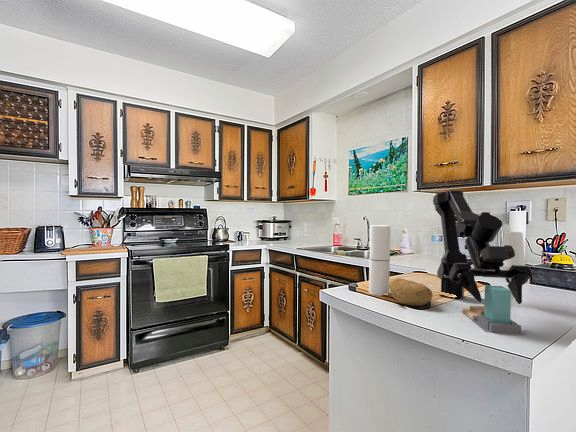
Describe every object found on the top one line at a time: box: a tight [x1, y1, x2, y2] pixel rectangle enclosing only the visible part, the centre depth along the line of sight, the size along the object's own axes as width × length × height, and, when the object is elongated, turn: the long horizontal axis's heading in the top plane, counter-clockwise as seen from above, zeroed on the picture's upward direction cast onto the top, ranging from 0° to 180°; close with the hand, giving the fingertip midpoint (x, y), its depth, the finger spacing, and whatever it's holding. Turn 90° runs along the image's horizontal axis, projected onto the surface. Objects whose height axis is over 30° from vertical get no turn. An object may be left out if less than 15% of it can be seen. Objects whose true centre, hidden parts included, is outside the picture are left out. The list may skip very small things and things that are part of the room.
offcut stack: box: [461, 305, 484, 320], centre depth 85 cm, size 7×8×2 cm
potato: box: [389, 278, 434, 307], centre depth 98 cm, size 10×14×8 cm
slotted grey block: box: [460, 310, 527, 336], centre depth 81 cm, size 16×9×3 cm, turn 171°
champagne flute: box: [501, 231, 526, 308], centre depth 100 cm, size 7×7×24 cm
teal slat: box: [483, 284, 512, 324], centre depth 78 cm, size 4×4×10 cm
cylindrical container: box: [368, 224, 391, 297], centre depth 111 cm, size 7×7×25 cm
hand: (500, 302), depth 77 cm, fingers open, 9 cm apart
